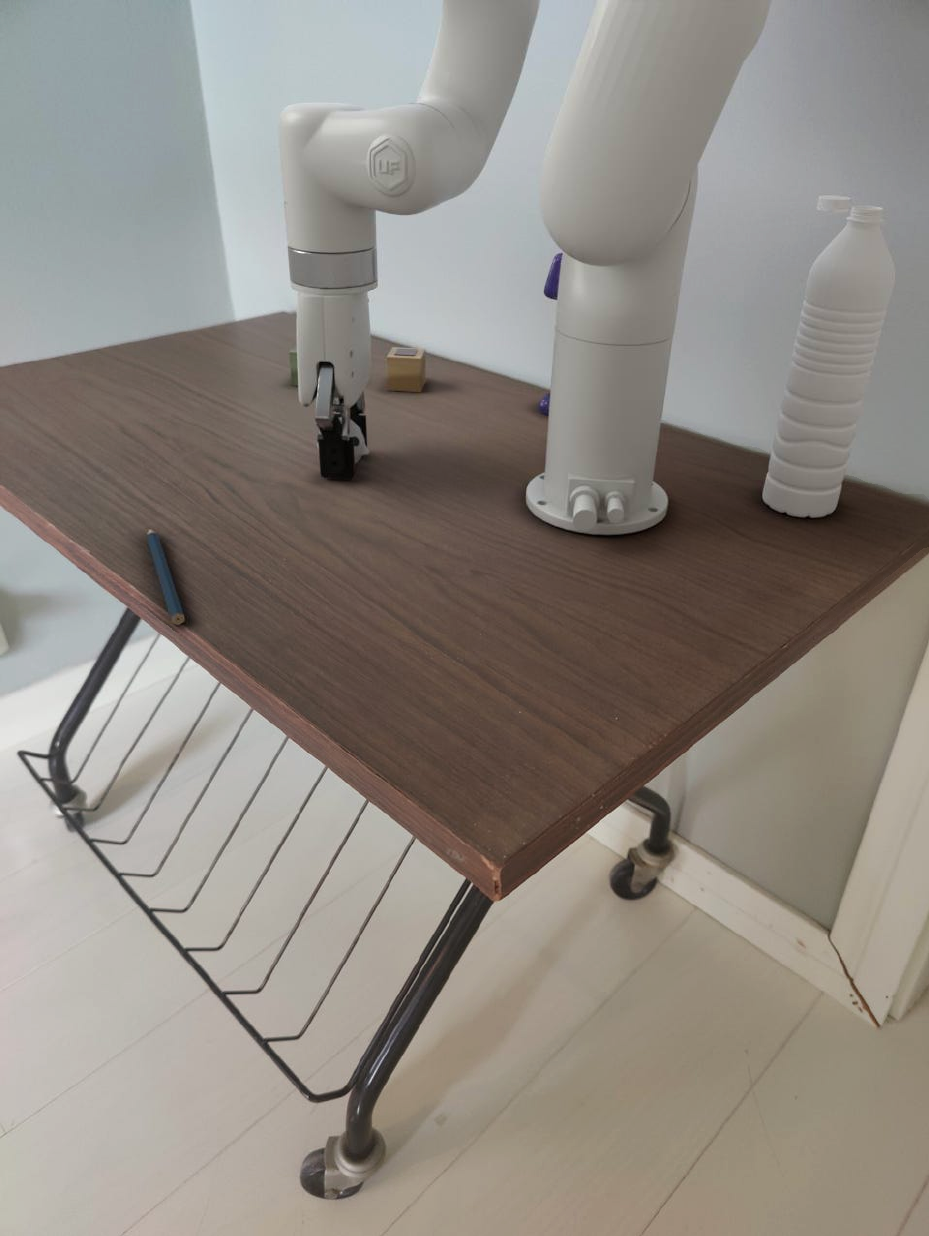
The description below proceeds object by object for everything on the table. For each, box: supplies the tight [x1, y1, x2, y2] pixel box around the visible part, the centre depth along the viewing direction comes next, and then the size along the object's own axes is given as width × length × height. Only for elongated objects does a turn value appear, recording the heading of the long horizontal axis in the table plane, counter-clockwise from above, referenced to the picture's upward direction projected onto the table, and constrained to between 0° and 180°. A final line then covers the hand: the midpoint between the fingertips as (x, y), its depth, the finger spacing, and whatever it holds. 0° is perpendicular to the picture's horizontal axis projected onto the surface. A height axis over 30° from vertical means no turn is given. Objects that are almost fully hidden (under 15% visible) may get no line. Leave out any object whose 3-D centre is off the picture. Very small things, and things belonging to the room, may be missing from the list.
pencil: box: [146, 528, 186, 626], centre depth 70 cm, size 1×1×15 cm
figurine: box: [316, 417, 370, 465], centre depth 87 cm, size 5×5×5 cm
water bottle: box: [762, 194, 896, 519], centre depth 77 cm, size 9×6×25 cm
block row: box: [288, 343, 427, 393], centre depth 108 cm, size 4×16×4 cm, turn 84°
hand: (344, 463), depth 88 cm, fingers closed on figurine, 5 cm apart
